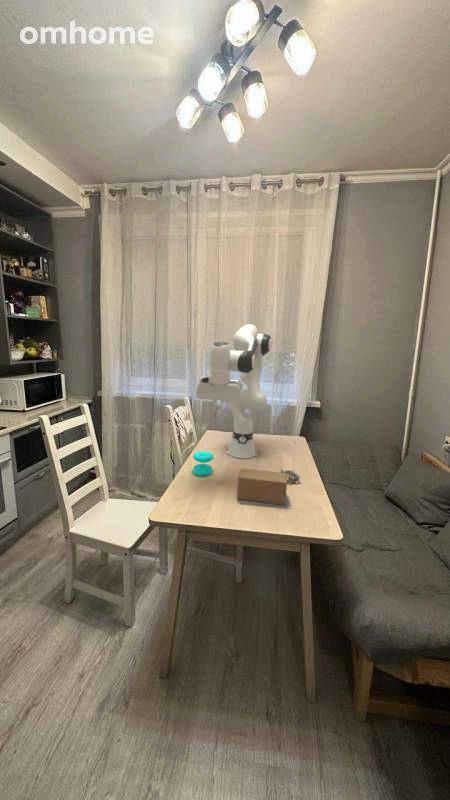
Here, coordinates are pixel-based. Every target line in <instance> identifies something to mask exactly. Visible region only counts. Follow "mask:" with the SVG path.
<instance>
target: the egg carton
mask: <svg viewBox="0 0 450 800" xmlns="http://www.w3.org/2000/svg"><path fill="white" fill-rule="evenodd" d="M279 471H280V472H279V473H286V474H289V475H286V477H288V479H287V484H288V483H292V482H298V481H299V482H300V478H301V476H300V475H299V474H298V473H296V472H295V471H294V469H292V470H291V469H290V470H289V469H288V470H285V471H283V469H281V468H279ZM293 477H294V478H293ZM299 482H298V483H299ZM292 484H293V483H292Z"/></svg>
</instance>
